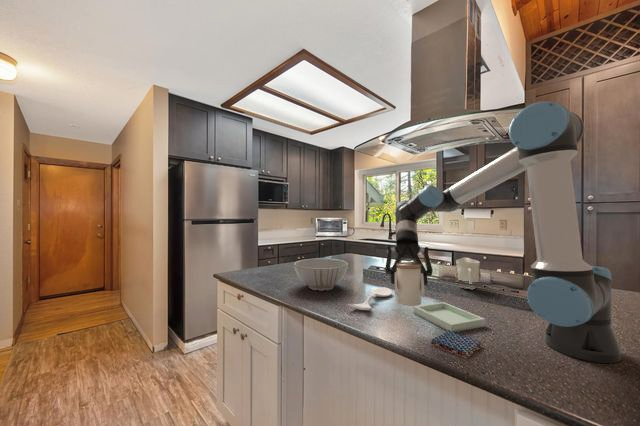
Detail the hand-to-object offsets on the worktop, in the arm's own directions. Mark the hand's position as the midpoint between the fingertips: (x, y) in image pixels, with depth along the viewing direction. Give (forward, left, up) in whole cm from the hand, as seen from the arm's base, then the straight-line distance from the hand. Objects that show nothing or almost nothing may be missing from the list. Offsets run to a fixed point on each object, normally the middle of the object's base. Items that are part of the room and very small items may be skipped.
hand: (409, 293), depth 85 cm
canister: (+3, -2, -4) cm, 5 cm away
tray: (+6, -20, -13) cm, 24 cm away
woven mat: (-10, -8, -14) cm, 18 cm away
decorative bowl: (+60, +7, -13) cm, 61 cm away
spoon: (+31, -6, -13) cm, 34 cm away
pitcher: (+32, -58, -13) cm, 67 cm away
